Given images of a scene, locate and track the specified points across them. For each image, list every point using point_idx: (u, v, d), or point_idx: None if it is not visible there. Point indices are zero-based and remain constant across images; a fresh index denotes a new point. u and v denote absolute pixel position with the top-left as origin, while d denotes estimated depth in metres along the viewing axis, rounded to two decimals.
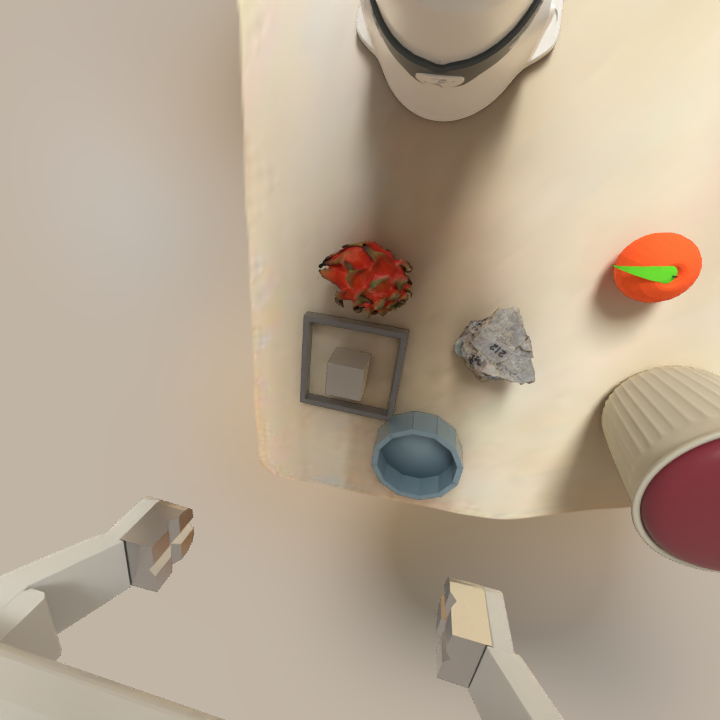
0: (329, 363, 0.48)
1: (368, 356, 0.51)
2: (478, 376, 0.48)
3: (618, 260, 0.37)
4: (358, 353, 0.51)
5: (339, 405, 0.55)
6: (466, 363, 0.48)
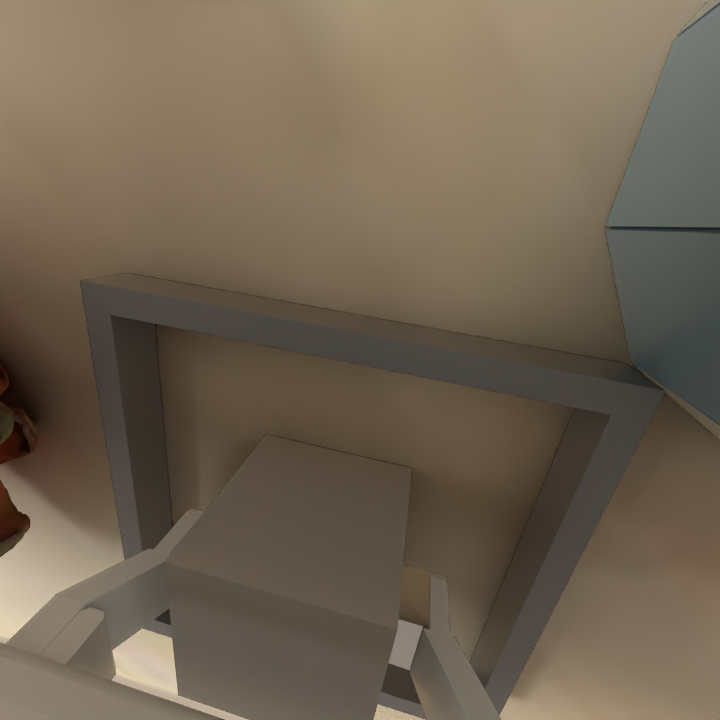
0: (182, 688, 0.09)
1: None
2: None
3: None
4: None
5: (513, 617, 0.11)
6: None
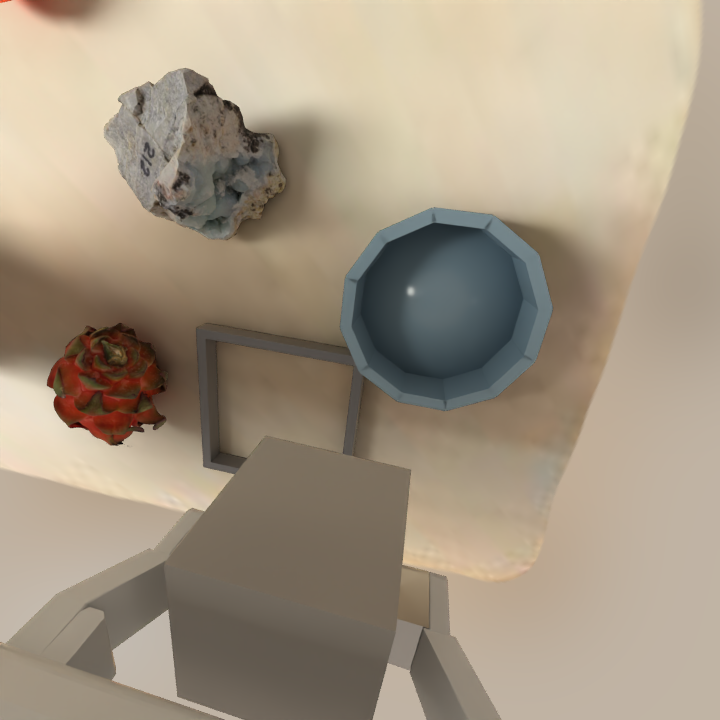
0: (181, 690, 0.09)
1: None
2: (267, 193, 0.25)
3: None
4: None
5: (344, 441, 0.32)
6: (252, 217, 0.27)
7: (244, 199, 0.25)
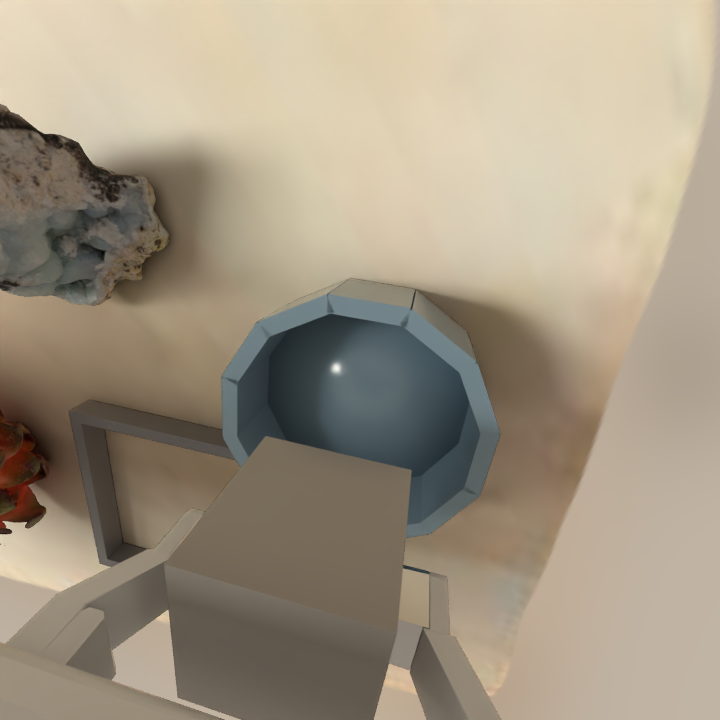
0: (181, 691, 0.09)
1: None
2: (140, 252, 0.19)
3: None
4: None
5: None
6: (128, 278, 0.20)
7: (110, 258, 0.19)
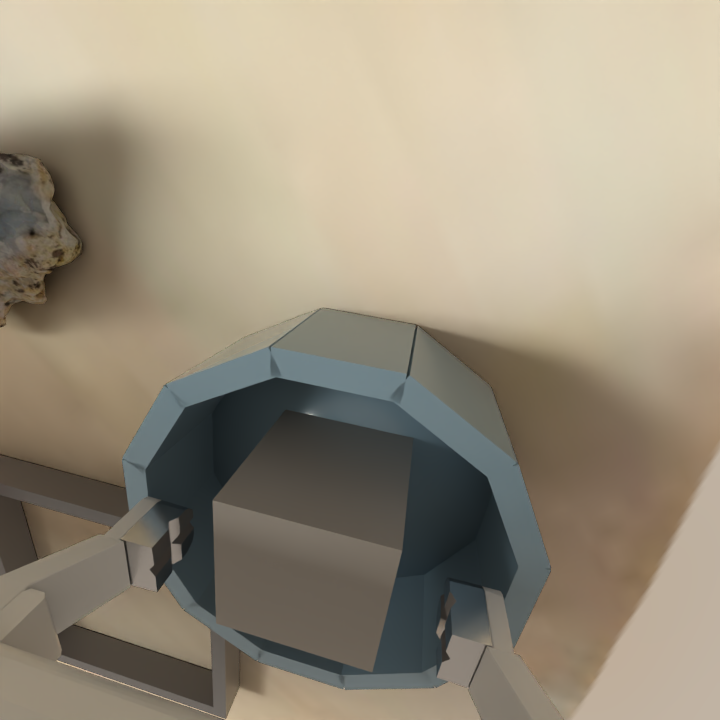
0: (219, 617, 0.11)
1: None
2: (32, 267, 0.13)
3: None
4: None
5: (213, 647, 0.20)
6: (25, 300, 0.14)
7: None
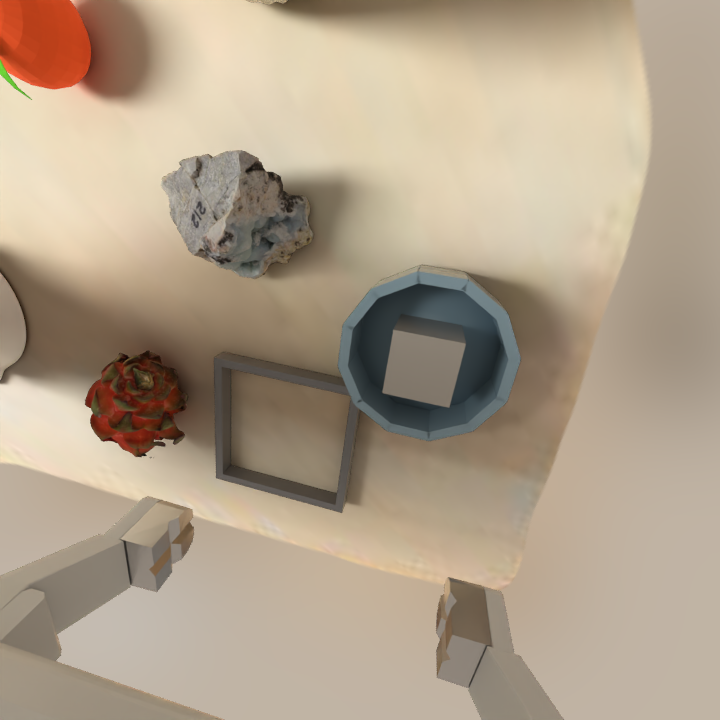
0: (384, 390, 0.27)
1: (399, 318, 0.29)
2: (296, 245, 0.29)
3: (45, 87, 0.27)
4: None
5: (342, 461, 0.35)
6: (280, 261, 0.30)
7: (275, 248, 0.29)
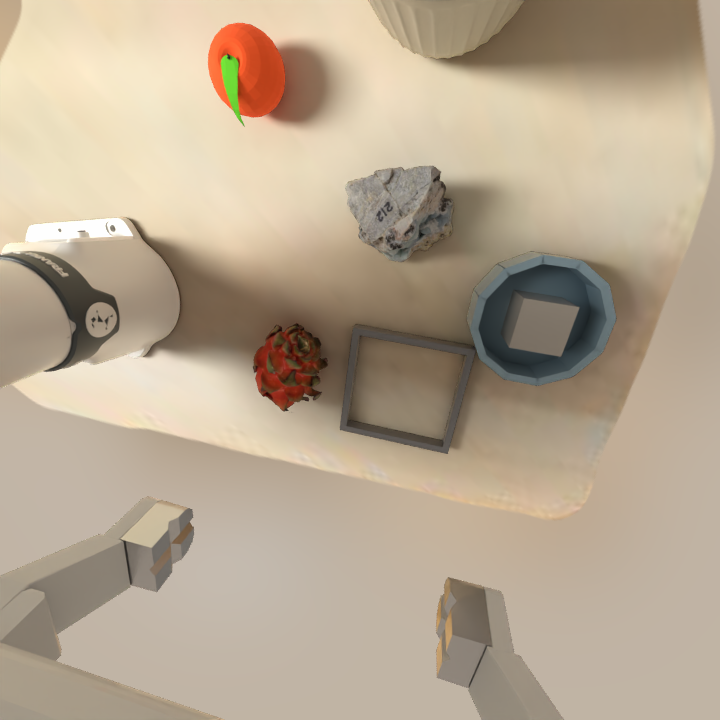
0: (510, 345, 0.36)
1: (514, 292, 0.38)
2: (440, 236, 0.37)
3: None
4: (510, 305, 0.38)
5: (452, 410, 0.44)
6: (422, 249, 0.39)
7: (424, 238, 0.38)
